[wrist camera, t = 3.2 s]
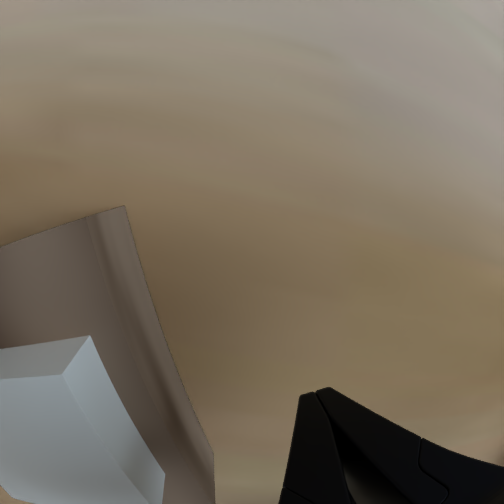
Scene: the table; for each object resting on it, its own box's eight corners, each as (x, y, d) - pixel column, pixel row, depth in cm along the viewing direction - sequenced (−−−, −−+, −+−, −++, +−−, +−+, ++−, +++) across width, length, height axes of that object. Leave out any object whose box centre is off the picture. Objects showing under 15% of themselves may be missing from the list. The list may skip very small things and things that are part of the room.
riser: (124, 205, 10) (85, 217, 7) (213, 453, 13) (215, 509, 10) (-47, 266, 10) (-94, 288, 6) (52, 459, 13) (34, 500, 9)
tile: (90, 334, 8) (61, 374, 6) (165, 473, 9) (161, 516, 7) (-47, 354, 7) (-75, 379, 5) (27, 468, 9) (12, 497, 7)
